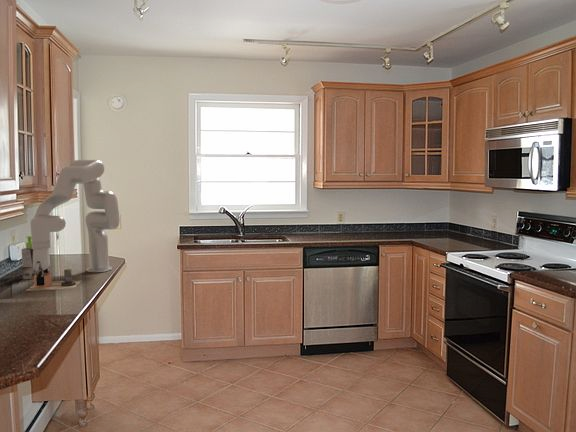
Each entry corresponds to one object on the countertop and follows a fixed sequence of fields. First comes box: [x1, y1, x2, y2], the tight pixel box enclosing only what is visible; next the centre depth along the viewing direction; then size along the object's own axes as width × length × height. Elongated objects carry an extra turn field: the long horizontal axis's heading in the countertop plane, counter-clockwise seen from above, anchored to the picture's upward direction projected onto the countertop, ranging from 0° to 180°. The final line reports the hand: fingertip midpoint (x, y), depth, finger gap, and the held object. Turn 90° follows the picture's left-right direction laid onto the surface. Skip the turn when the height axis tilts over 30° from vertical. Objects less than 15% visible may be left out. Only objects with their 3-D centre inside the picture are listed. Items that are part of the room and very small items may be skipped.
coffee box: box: [21, 247, 42, 280], centre depth 258 cm, size 9×6×16 cm
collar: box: [33, 272, 53, 287], centre depth 240 cm, size 7×7×5 cm
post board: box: [25, 268, 82, 292], centre depth 241 cm, size 16×20×8 cm
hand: (43, 283), depth 241 cm, fingers closed on collar, 7 cm apart
